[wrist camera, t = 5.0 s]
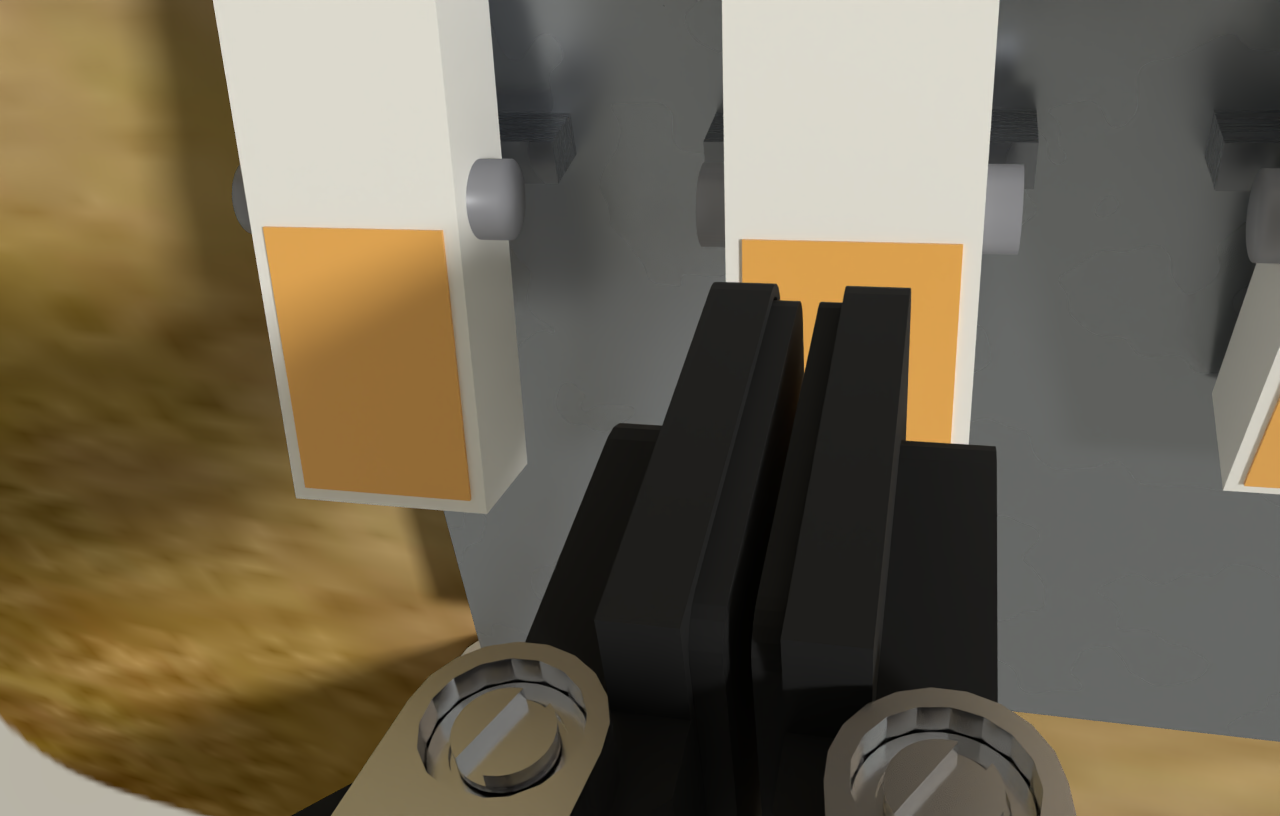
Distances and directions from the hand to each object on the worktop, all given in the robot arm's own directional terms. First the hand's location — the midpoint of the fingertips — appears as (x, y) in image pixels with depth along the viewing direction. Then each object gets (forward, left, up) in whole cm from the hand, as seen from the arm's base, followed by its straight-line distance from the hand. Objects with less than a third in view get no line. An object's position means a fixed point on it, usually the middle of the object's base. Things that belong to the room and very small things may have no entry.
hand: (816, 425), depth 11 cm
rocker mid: (0, 0, -4) cm, 4 cm away
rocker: (+4, +5, -4) cm, 7 cm away
